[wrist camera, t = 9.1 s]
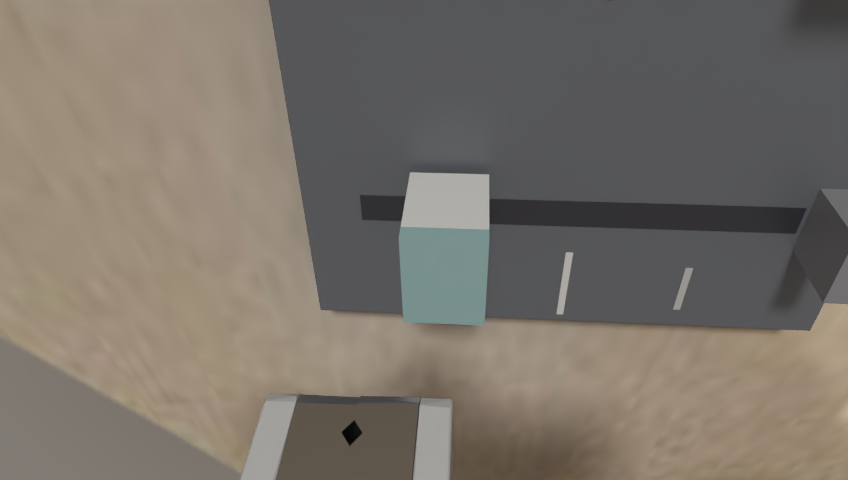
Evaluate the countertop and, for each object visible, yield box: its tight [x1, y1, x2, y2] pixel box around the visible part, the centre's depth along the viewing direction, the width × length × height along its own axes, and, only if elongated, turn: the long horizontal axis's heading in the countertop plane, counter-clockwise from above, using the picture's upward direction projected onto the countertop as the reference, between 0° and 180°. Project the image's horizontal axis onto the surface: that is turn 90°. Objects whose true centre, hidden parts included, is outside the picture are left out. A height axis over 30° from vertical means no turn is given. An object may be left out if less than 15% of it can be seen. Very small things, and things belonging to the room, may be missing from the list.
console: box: [269, 0, 848, 331], centre depth 21 cm, size 22×26×5 cm
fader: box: [399, 172, 489, 326], centre depth 24 cm, size 3×4×4 cm
